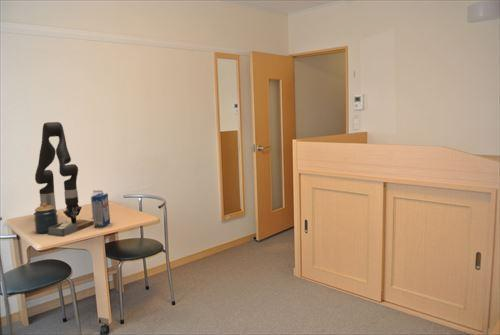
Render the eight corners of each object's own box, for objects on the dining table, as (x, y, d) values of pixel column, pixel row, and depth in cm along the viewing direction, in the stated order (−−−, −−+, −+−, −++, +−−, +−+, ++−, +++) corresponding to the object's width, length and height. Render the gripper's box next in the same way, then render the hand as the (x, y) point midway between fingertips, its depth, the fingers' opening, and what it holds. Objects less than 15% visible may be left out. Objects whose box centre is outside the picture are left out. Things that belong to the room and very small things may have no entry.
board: (62, 229, 249) (62, 225, 249) (79, 223, 262) (79, 219, 262) (77, 230, 245) (77, 226, 245) (93, 224, 258) (93, 220, 258)
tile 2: (61, 229, 244) (59, 225, 243) (67, 225, 248) (65, 221, 247) (67, 230, 242) (65, 226, 241) (73, 226, 246) (71, 221, 245)
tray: (48, 234, 239) (47, 227, 239) (62, 229, 249) (62, 222, 249) (63, 236, 235) (62, 229, 234) (77, 230, 245) (76, 224, 245)
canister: (34, 235, 239) (31, 206, 237) (36, 229, 251) (33, 202, 249) (58, 231, 244) (55, 203, 242) (59, 226, 256) (56, 199, 254)
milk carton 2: (100, 223, 261) (98, 193, 258) (110, 223, 260) (107, 193, 258) (94, 227, 251) (91, 196, 248) (104, 227, 250) (101, 196, 248)
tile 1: (53, 233, 239) (53, 228, 238) (60, 231, 243) (60, 226, 243) (60, 234, 237) (59, 229, 237) (66, 231, 242) (66, 227, 241)
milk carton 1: (101, 218, 272) (99, 191, 269) (92, 218, 273) (90, 191, 271) (107, 216, 279) (105, 189, 276) (98, 215, 280) (96, 189, 278)
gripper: (74, 193, 256) (77, 220, 258) (58, 198, 243) (61, 225, 246) (84, 194, 253) (86, 220, 255) (67, 199, 241) (70, 226, 243)
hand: (73, 223), depth 251 cm, fingers closed
